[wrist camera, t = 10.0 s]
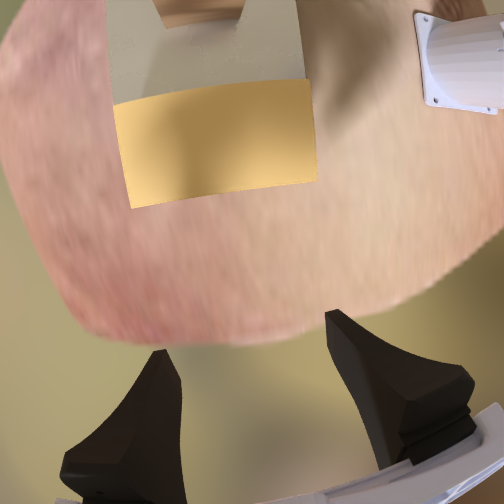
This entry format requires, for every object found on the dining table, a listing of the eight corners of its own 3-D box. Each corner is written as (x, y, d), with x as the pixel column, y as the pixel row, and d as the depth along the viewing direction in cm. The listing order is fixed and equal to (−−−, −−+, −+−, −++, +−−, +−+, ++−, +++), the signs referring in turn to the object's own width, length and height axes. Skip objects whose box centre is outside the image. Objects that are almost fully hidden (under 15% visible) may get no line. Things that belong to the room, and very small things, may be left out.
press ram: (284, 87, 17) (309, 78, 13) (292, 165, 19) (318, 181, 15) (136, 108, 17) (112, 105, 12) (149, 186, 19) (131, 208, 14)
